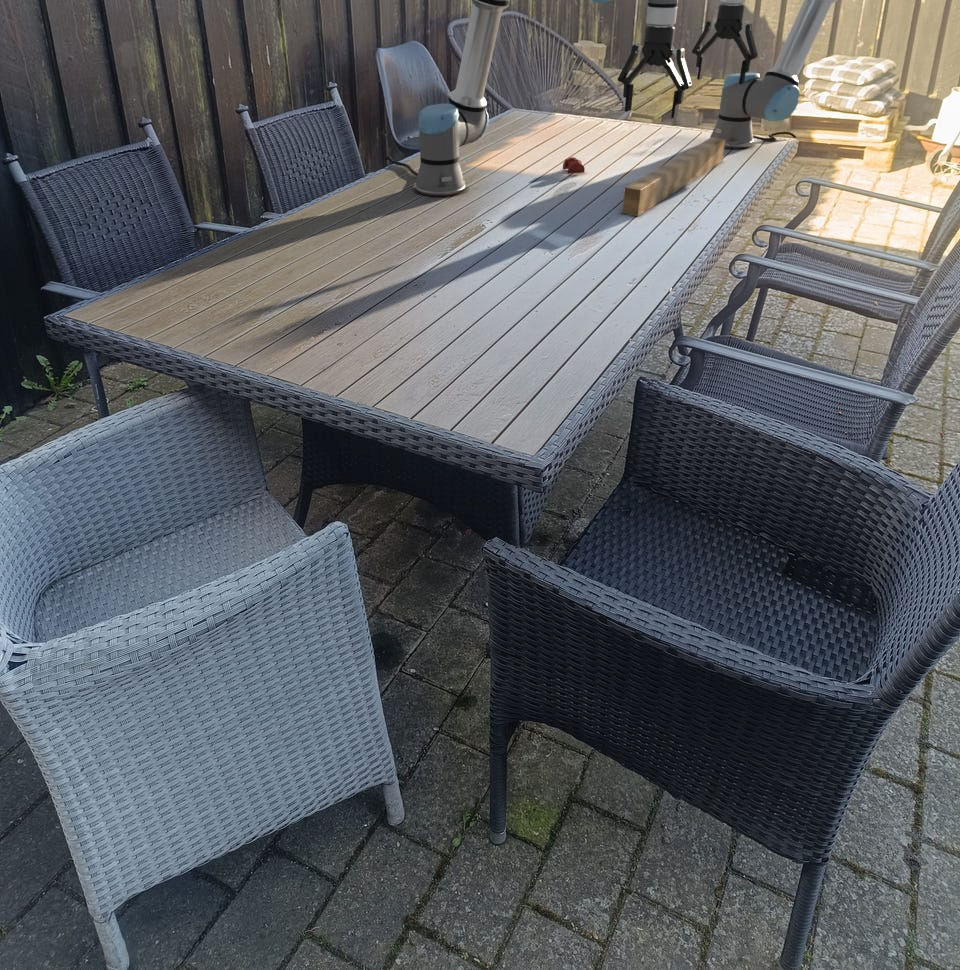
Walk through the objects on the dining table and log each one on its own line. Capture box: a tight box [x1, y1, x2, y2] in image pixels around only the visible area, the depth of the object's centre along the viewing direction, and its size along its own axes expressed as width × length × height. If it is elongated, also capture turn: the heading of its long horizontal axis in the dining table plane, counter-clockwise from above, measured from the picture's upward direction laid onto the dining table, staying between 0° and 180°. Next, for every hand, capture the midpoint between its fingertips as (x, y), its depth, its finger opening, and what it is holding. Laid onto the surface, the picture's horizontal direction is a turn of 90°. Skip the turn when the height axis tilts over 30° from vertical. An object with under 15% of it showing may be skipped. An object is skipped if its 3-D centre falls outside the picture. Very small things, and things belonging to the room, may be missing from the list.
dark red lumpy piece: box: [562, 156, 586, 175], centre depth 273 cm, size 6×4×8 cm
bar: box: [621, 137, 725, 217], centre depth 260 cm, size 68×5×7 cm, turn 147°
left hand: (650, 113), depth 228 cm, fingers open, 13 cm apart
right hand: (720, 81), depth 266 cm, fingers open, 13 cm apart
